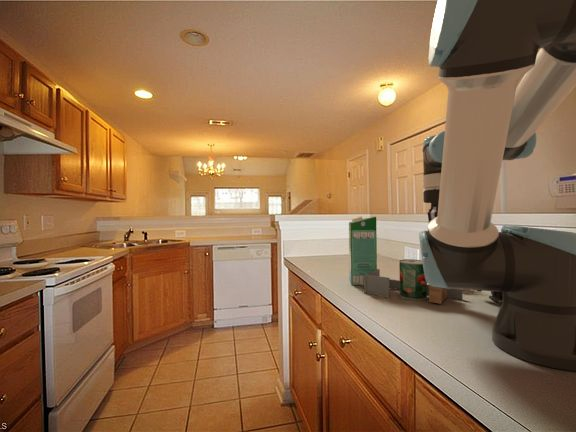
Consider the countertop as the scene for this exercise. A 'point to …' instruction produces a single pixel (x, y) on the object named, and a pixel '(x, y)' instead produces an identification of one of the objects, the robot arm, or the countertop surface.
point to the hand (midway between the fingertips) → (438, 268)
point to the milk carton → (362, 248)
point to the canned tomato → (412, 280)
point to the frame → (394, 286)
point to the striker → (437, 294)
